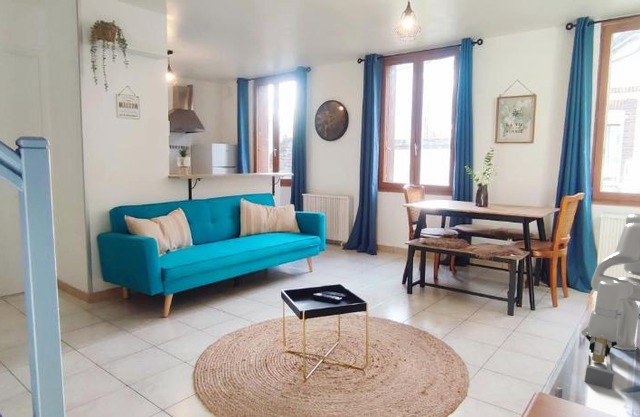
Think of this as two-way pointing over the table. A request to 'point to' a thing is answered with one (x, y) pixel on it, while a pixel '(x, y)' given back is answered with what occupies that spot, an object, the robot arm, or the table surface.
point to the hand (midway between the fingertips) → (598, 352)
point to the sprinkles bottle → (599, 350)
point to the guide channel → (598, 373)
